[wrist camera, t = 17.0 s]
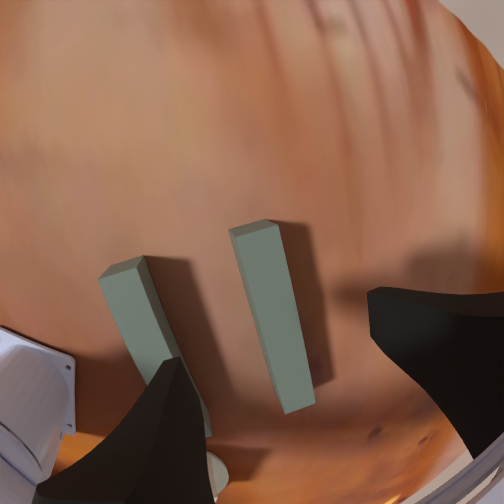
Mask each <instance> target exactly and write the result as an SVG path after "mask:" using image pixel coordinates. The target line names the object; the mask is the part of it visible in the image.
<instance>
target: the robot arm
mask: <svg viewBox="0 0 504 504" xmlns="http://www.w3.org/2000/svg"><path fill="white" fill-rule="evenodd" d="M367 300H368V310H369V323H370V336H371V338H372V339H373V340H374V341H375V343H376V344H377V345H378V347H379V348H380V349H381V350H382V351H383V352H384V354H386V355H387V356H388V357H389V358H390V359H391V360H392V361H393V362H394V363H395V364H396V365H398V366H399V367H400V368H401V369H402V370H403V371H404V372H405V373H407V374H408V375H409V376H410V377H411V378H412V379H413V380H414V381H416V382H417V383H418V384H419V385H420V386H421V387H422V388H423V389H424V390H425V391H426V392H427V393H428V394H429V396H430V397H431V398H432V399H433V400H434V402H435V403H436V404H437V405H438V406H439V408H440V409H441V410H442V412H443V413H444V414H445V415H446V417H447V418H448V419H449V421H450V422H451V424H452V425H453V427H454V428H455V429H456V431H457V432H458V434H459V435H460V437H461V438H462V440H463V442H464V444H465V445H466V447H467V449H468V450H469V452H470V454H471V456H472V458H473V459H474V460H473V461H472V462H471V463H470V464H469V465H467V466H466V467H465V468H464V469H463V470H461V471H460V472H459V473H458V474H456V475H455V476H454V477H452V478H451V479H450V480H448V481H447V482H446V483H444V484H443V485H442V486H440V487H439V488H437V489H436V490H435V491H433V492H432V493H430V494H429V495H427V496H426V497H424V498H423V499H421V500H420V501H418V502H417V503H415V504H456V503H457V502H459V501H460V500H461V499H462V498H464V497H465V496H466V495H467V494H469V493H470V492H471V491H472V490H473V489H474V488H476V487H477V486H478V485H479V484H480V483H481V482H482V481H484V480H485V479H486V478H487V477H488V476H489V475H490V474H491V473H492V472H493V471H494V470H495V469H496V468H497V467H498V466H499V465H501V466H500V467H499V469H498V471H497V473H496V475H495V476H494V478H493V479H492V480H491V482H490V483H489V484H488V485H487V486H486V487H485V488H484V489H483V490H482V491H481V492H479V493H478V494H477V495H476V496H475V497H474V498H472V499H471V500H470V501H469V502H468V503H466V504H504V292H497V293H489V294H470V295H458V294H442V293H432V292H423V291H416V290H408V289H401V288H392V287H378V288H376V289H373V290H371V291H369V292H367ZM67 365H69V366H70V367H71V368H69V367H68V366H67ZM65 433H66V434H69V435H75V433H76V422H75V359H74V358H73V357H72V356H70V355H67V354H64V353H61V352H59V351H56V350H53V349H51V348H48V347H46V346H43V345H41V344H38V343H36V342H33V341H31V340H29V339H26V338H24V337H22V336H19V335H17V334H15V333H13V332H10V331H8V330H6V329H4V328H2V327H0V504H215V501H214V497H213V493H212V488H211V484H210V480H209V473H208V464H207V452H206V439H205V426H204V418H203V413H202V408H201V403H200V398H199V396H198V394H197V392H196V390H195V388H194V386H193V384H192V382H191V379H190V377H189V375H188V373H187V371H186V369H185V366H184V364H183V362H182V360H181V357H180V356H178V357H175V358H171V359H167V360H164V361H163V362H162V364H161V365H160V367H159V368H158V370H157V372H156V373H155V375H154V376H153V378H152V380H151V381H150V383H149V384H148V386H147V387H146V389H145V390H144V392H143V394H142V395H141V396H140V398H139V399H138V401H137V402H136V403H135V405H134V406H133V407H132V409H131V410H130V412H129V413H128V414H127V415H126V417H125V418H124V419H123V420H122V421H121V423H120V424H119V425H118V426H117V427H116V428H115V429H114V430H113V431H112V432H111V433H110V434H109V435H108V436H107V437H106V438H105V439H104V440H103V441H102V442H101V443H99V444H98V445H97V446H96V447H95V448H94V449H93V450H92V451H90V452H89V453H88V454H87V455H85V456H84V457H83V458H81V459H80V460H79V461H77V462H76V463H74V464H73V465H71V466H70V467H68V468H67V469H65V470H63V471H62V472H60V473H58V474H56V475H54V476H52V477H51V478H49V477H50V475H51V473H52V470H53V467H54V464H55V460H56V457H57V454H58V451H59V449H60V446H61V443H62V440H63V437H64V434H65ZM48 478H49V479H48Z"/></svg>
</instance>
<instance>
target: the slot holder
mask: <svg viewBox="0 0 504 504" xmlns="http://www.w3.org/2000/svg"><path fill="white" fill-rule="evenodd" d="M229 233H230V237H231V240H232V244H233V248H234V251H235V255H236V259H237V262H238V266H239V269H240V273H241V277H242V280H243V284H244V287H245V291H246V294H247V298H248V301H249V305H250V308H251V312H252V315H253V319H254V322H255V326H256V329H257V333H258V336H259V340H260V343H261V347H262V350H263V354H264V357H265V360H266V364H267V367H268V371H269V374H270V377H271V381H272V384H273V387H274V391H275V393H276V396H277V398H278V400H279V402H280V404H281V406H282V408H283V411H284V413H285V414H288V413H291V412H293V411H296V410H299V409H301V408H304V407H307V406H309V405H312V404H314V403H316V401H315V396H314V391H313V385H312V380H311V375H310V370H309V365H308V360H307V355H306V350H305V345H304V340H303V335H302V330H301V325H300V321H299V316H298V311H297V306H296V302H295V297H294V293H293V288H292V283H291V279H290V274H289V270H288V265H287V261H286V257H285V252H284V248H283V244H282V239H281V235H280V231H279V227H278V225H277V224H275V223H273V222H270V221H268V220H266V219H264V220H261V221H257V222H253V223H250V224H246V225H243V226H240V227H236V228H233V229H229ZM98 281H99V284H100V286H101V289H102V291H103V294H104V296H105V299H106V301H107V304H108V306H109V308H110V311H111V313H112V315H113V318H114V320H115V322H116V325H117V327H118V329H119V331H120V333H121V335H122V338H123V340H124V342H125V344H126V346H127V348H128V350H129V352H130V354H131V356H132V358H133V360H134V362H135V364H136V366H137V368H138V370H139V372H140V374H141V376H142V377H143V379H144V381H145V383H146V385H147V386H148V384H149V383H150V381H151V380H152V378H153V376H154V375H155V373H156V372H157V370H158V368H159V367H160V365H161V364H162V362H163V361H164V360H167V359H171V358H175V357H178V356H180V357H181V360H182V362H183V364H184V366H185V369H186V371H187V373H188V375H189V377H190V379H191V382H192V384H193V386H194V388H195V390H196V392H197V394H198V396H199V398H200V403H201V408H202V413H203V418H204V426H205V438H208V437H212V430H211V423H210V417H209V411H208V409H207V407H206V405H205V403H204V401H203V399H202V397H201V395H200V393H199V391H198V389H197V387H196V385H195V383H194V380H193V378H192V376H191V374H190V372H189V370H188V367H187V365H186V363H185V361H184V358H183V356H182V354H181V351H180V349H179V347H178V344H177V342H176V340H175V337H174V335H173V333H172V330H171V328H170V325H169V323H168V320H167V318H166V315H165V313H164V310H163V307H162V305H161V302H160V300H159V297H158V294H157V292H156V289H155V286H154V283H153V281H152V278H151V275H150V272H149V269H148V266H147V263H146V261H145V258H144V255H143V256H140V257H137V258H134V259H131V260H128V261H124V262H121V263H118V264H115V265H112V266H110V267H109V268H108V269H107V270H106V271H105V272H104V273H103V274H102V275H101V277H100V278H99V279H98Z"/></svg>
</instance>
